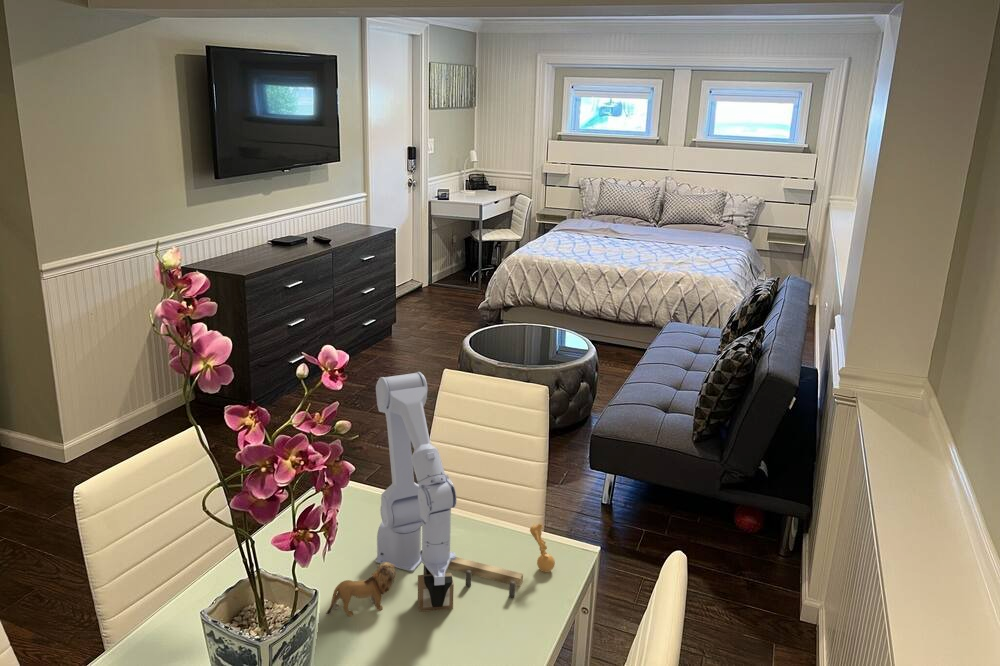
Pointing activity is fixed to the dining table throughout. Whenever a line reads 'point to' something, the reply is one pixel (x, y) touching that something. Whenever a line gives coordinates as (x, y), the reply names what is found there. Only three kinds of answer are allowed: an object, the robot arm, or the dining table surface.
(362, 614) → the dining table surface
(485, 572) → the ledge
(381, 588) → the lion figurine
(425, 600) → the wooden box
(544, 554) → the figurine
